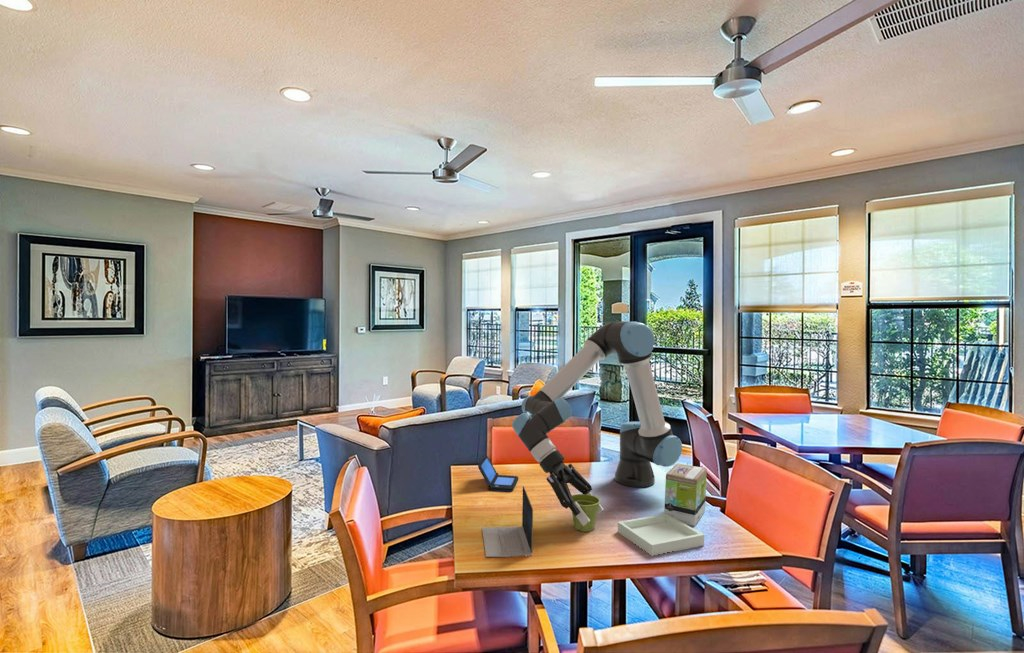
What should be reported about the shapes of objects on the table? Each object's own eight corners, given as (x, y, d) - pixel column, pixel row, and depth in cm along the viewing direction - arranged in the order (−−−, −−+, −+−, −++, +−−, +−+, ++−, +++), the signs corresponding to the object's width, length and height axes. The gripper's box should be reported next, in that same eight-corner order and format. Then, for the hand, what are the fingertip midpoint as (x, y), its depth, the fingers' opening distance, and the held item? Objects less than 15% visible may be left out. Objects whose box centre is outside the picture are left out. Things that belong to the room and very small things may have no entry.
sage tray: (666, 523, 155) (666, 513, 155) (704, 545, 140) (704, 534, 140) (617, 531, 148) (617, 521, 148) (651, 556, 133) (652, 545, 133)
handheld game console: (512, 493, 180) (513, 467, 180) (476, 490, 182) (477, 465, 182) (518, 479, 196) (519, 455, 196) (485, 477, 198) (485, 453, 198)
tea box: (696, 527, 152) (697, 479, 152) (663, 519, 158) (664, 473, 157) (706, 511, 165) (707, 466, 165) (675, 504, 170) (676, 461, 170)
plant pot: (574, 535, 145) (574, 506, 145) (564, 522, 154) (564, 494, 154) (604, 533, 147) (604, 504, 147) (592, 520, 156) (593, 493, 156)
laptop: (481, 530, 149) (482, 486, 149) (523, 528, 150) (524, 485, 150) (485, 559, 131) (486, 510, 131) (532, 557, 132) (533, 508, 132)
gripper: (556, 455, 168) (599, 512, 160) (522, 471, 149) (569, 537, 141) (571, 441, 165) (615, 499, 157) (537, 457, 146) (586, 523, 138)
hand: (593, 517), depth 149 cm, fingers closed on plant pot, 9 cm apart
